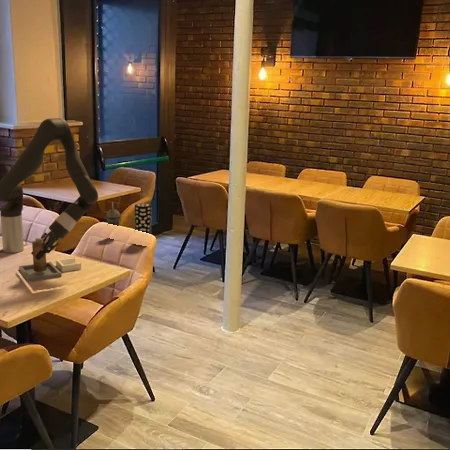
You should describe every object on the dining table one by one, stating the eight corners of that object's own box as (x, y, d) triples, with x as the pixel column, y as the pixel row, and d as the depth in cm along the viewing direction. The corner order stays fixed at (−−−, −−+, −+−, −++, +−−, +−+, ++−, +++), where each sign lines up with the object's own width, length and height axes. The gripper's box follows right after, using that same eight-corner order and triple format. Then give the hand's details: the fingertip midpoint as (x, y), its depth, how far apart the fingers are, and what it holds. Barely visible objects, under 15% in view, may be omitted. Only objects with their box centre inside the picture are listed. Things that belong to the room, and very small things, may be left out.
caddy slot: (56, 267, 223) (56, 259, 222) (74, 264, 227) (74, 257, 226) (62, 273, 216) (62, 266, 215) (81, 271, 220) (81, 263, 219)
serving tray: (19, 271, 216) (18, 266, 215) (50, 267, 223) (50, 261, 222) (28, 284, 203) (28, 278, 202) (61, 278, 210) (61, 272, 210)
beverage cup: (121, 236, 275) (121, 199, 270) (119, 240, 268) (118, 202, 263) (107, 235, 275) (107, 199, 270) (105, 239, 268) (104, 202, 263)
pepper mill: (32, 268, 213) (30, 237, 210) (44, 267, 216) (43, 236, 213) (35, 272, 209) (33, 240, 206) (47, 270, 212) (46, 239, 209)
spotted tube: (142, 246, 259) (142, 207, 254) (131, 242, 264) (131, 204, 259) (154, 242, 266) (154, 205, 261) (143, 239, 270) (143, 202, 265)
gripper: (51, 216, 217) (23, 246, 214) (61, 223, 206) (32, 256, 202) (64, 226, 221) (37, 257, 218) (75, 234, 210) (46, 267, 206)
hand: (34, 256), depth 210 cm, fingers closed on pepper mill, 5 cm apart
